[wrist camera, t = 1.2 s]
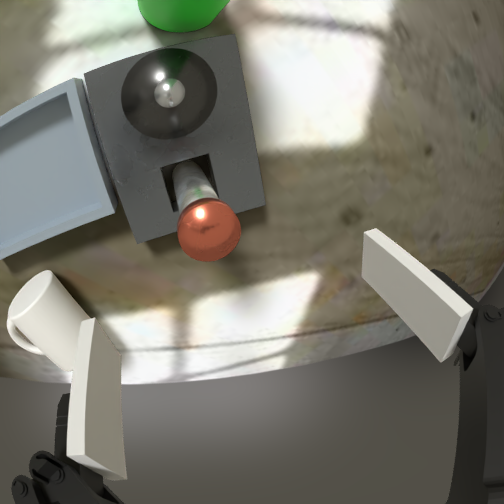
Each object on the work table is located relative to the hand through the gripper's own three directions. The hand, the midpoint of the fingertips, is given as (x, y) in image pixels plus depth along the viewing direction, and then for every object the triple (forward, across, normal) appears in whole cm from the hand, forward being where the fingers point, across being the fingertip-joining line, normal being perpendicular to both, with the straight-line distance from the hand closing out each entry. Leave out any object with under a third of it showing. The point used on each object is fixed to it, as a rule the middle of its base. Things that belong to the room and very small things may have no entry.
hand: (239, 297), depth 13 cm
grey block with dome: (+21, 0, +4) cm, 21 cm away
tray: (+21, -17, +6) cm, 28 cm away
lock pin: (+21, 0, 0) cm, 21 cm away
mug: (+21, -23, -10) cm, 33 cm away
